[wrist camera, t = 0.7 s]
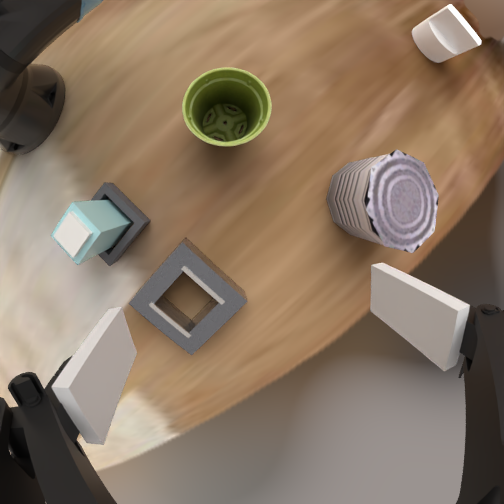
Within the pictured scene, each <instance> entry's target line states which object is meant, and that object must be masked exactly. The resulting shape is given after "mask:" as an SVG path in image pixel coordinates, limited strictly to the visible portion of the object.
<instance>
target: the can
mask: <svg viewBox="0 0 504 504" xmlns="http://www.w3.org/2000/svg"><path fill="white" fill-rule="evenodd" d="M326 199H327V202H328V205H329V209H330V212H331V215H332V218H333V222H335V223H336V224H337V225H338V226H340V227H341V228H342V229H344V230H345V231H346V232H347V233H349V234H350V235H352V236H356V237H359V238H362V239H365V240H368V241H371V242H375V243H378V244H381V245H384V246H386V247H390V248H395V249H399V250H403V251H407V252H411V253H413V252H414V251H415V250H417V249H418V248H419V247H420V246H421V245H422V243H423V242H424V241H425V240H426V239H427V238H428V237H429V236H430V235H431V234H432V233H433V232H434V230H435V223H436V215H437V206H438V193H437V191H436V188H435V186H434V184H433V181H432V179H431V177H430V175H429V173H428V170H427V168H426V166H425V164H424V162H422V161H420V160H418V159H415V158H414V157H411V156H409V155H407V154H405V153H403V152H401V151H399V150H395V151H394V152H392V153H391V154H388V155H383V156H378V157H373V158H368V159H363V160H359V161H354V162H350V163H348V164H347V165H345V166H344V167H343V168H342V169H340V170H339V171H338V172H337V173H335V174H334V175H333V176H332V179H331V183H330V187H329V191H328V194H327V198H326Z"/></svg>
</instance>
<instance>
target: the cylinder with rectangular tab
mask: <svg viewBox="0 0 504 504" xmlns="http://www.w3.org/2000/svg"><path fill="white" fill-rule="evenodd" d="M412 36H413V39H414V42H415V43H416V45H417V47H418V48H419V49H420V51H421V52H422V53H423V54H424V55H425V56H426V57H427V58H429V59H430V60H432V61H434V62H437V63H441V62H443V61H445V60H447V59H449V58H452V57H454V56H456V55H458V54H461V53H463V52H465V51H468V50H470V49H472V48H475V47H477V46H479V45H481V39H480V38H479V37H478V35H477V34H476V33H475V31H474V30H473V29H472V28H471V26H470V25H469V24H468V23H467V21H466V20H465V19H464V18H463V17H462V16H461V14H460V13H459V12H458V11H457V10H456V9H455V8H454V7H453V5H452V4H450V5H448V6H446V7H444V8H443V9H441V10H440V11H438V12H437V13H435V14H434V15H432V16H430V17H429V18H427V19H426V20H424V21H423V22H422V23H420V24H419V25H417V26H416V27H414V28H413V30H412Z"/></svg>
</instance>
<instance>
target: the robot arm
mask: <svg viewBox="0 0 504 504" xmlns="http://www.w3.org/2000/svg"><path fill="white" fill-rule="evenodd" d="M102 1H103V0H0V148H1V149H2V150H3V151H5V152H8V153H13V154H25V153H28V152H30V151H32V150H33V149H35V148H36V147H38V146H39V145H40V144H41V143H42V142H43V141H44V140H45V139H46V138H47V136H48V135H49V134H50V132H51V131H52V129H53V128H54V126H55V124H56V123H57V121H58V118H59V116H60V114H61V111H62V108H63V104H64V98H65V85H64V81H63V79H62V77H61V75H60V74H59V73H58V72H56V71H55V70H54V69H52V68H51V67H49V66H46V65H37V64H30V63H31V62H32V61H33V60H34V59H35V58H36V57H37V56H38V55H40V54H41V53H42V52H43V51H44V50H45V49H46V48H47V47H48V46H49V45H50V44H51V43H52V42H54V41H55V40H56V39H57V38H58V37H59V36H60V35H62V34H63V33H64V32H65V31H66V30H68V29H69V28H70V27H71V26H73V25H74V24H75V23H78V22H79V21H81V20H82V18H83V17H84V16H85V15H86V14H87V13H89V12H90V11H91V10H93V9H94V8H95V7H96V6H98V5H99V4H100V3H101V2H102ZM370 311H371V312H372V313H374V314H375V315H376V316H377V317H379V318H380V319H381V320H382V321H384V322H385V323H386V324H387V325H389V326H390V327H391V328H392V329H394V330H395V331H396V332H397V333H399V334H400V335H401V336H402V337H404V338H405V339H406V340H407V341H408V342H410V343H411V344H412V345H413V346H415V347H416V348H417V349H418V350H419V351H421V352H422V353H423V354H424V355H425V356H427V357H428V358H429V359H430V360H431V361H433V362H434V363H435V364H436V365H438V366H439V367H440V368H441V369H442V370H443V371H446V370H448V369H449V368H451V367H453V366H455V365H456V364H457V361H458V357H459V353H462V354H463V355H465V357H464V361H463V364H462V368H461V371H460V374H459V378H461V376H462V374H463V373H464V381H465V399H466V437H465V455H464V467H463V475H462V482H461V489H460V494H459V498H458V501H457V503H456V504H504V310H503V311H502V310H501V309H500V308H499V307H496V306H494V305H490V304H482V305H479V306H478V307H477V308H475V307H473V306H471V305H469V304H467V303H465V302H463V301H461V300H459V299H457V298H455V297H453V296H451V295H449V294H448V293H445V292H443V291H440V290H439V289H437V288H435V287H433V286H431V285H428V284H427V283H425V282H422V281H420V280H418V279H416V278H414V277H412V276H410V275H408V274H406V273H404V272H402V271H400V270H397V269H395V268H393V267H391V266H389V265H387V264H385V263H378V264H373V265H371V309H370ZM136 355H137V352H136V349H135V346H134V343H133V340H132V337H131V334H130V331H129V328H128V325H127V322H126V319H125V316H124V312H123V309H122V307H118V308H110V309H108V310H107V312H106V313H105V314H104V315H103V317H102V318H101V319H100V321H99V322H98V323H97V324H96V326H95V327H94V328H93V330H92V331H91V332H90V334H89V335H88V336H87V337H86V339H85V340H84V341H83V343H82V344H81V346H80V347H79V348H78V350H77V351H76V352H75V354H74V355H73V356H71V357H70V358H68V359H67V360H66V361H64V362H63V364H62V365H61V366H60V368H59V370H57V372H56V373H55V376H53V377H52V379H51V380H50V382H49V383H48V385H47V386H46V387H45V389H44V388H43V386H42V385H41V383H40V381H39V379H38V377H37V375H36V374H35V373H32V372H26V373H23V374H20V375H18V376H16V377H15V378H14V379H12V380H11V382H10V383H9V385H8V389H9V391H10V393H11V394H12V396H13V398H14V399H15V401H16V403H17V404H18V406H19V407H11V408H10V407H9V406H8V404H7V403H6V401H5V400H4V398H1V397H0V504H46V503H47V504H117V503H116V502H115V500H114V499H113V497H112V496H111V495H110V493H109V492H108V490H107V489H106V487H105V486H104V484H103V483H102V481H101V479H100V478H99V476H98V475H97V473H96V471H95V470H94V468H93V466H92V465H91V463H90V461H89V459H88V458H87V456H86V454H85V452H84V450H83V449H82V447H81V445H80V444H79V442H78V441H77V437H78V435H79V433H80V434H81V435H82V437H83V438H84V440H85V441H86V442H87V443H91V444H102V445H104V442H105V439H106V436H107V433H108V430H109V427H110V424H111V421H112V419H113V416H114V413H115V410H116V407H117V404H118V402H119V399H120V396H121V393H122V391H123V388H124V385H125V383H126V380H127V377H128V375H129V372H130V370H131V367H132V365H133V362H134V360H135V357H136ZM9 450H10V452H11V455H10V452H9ZM45 501H46V503H45Z"/></svg>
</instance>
